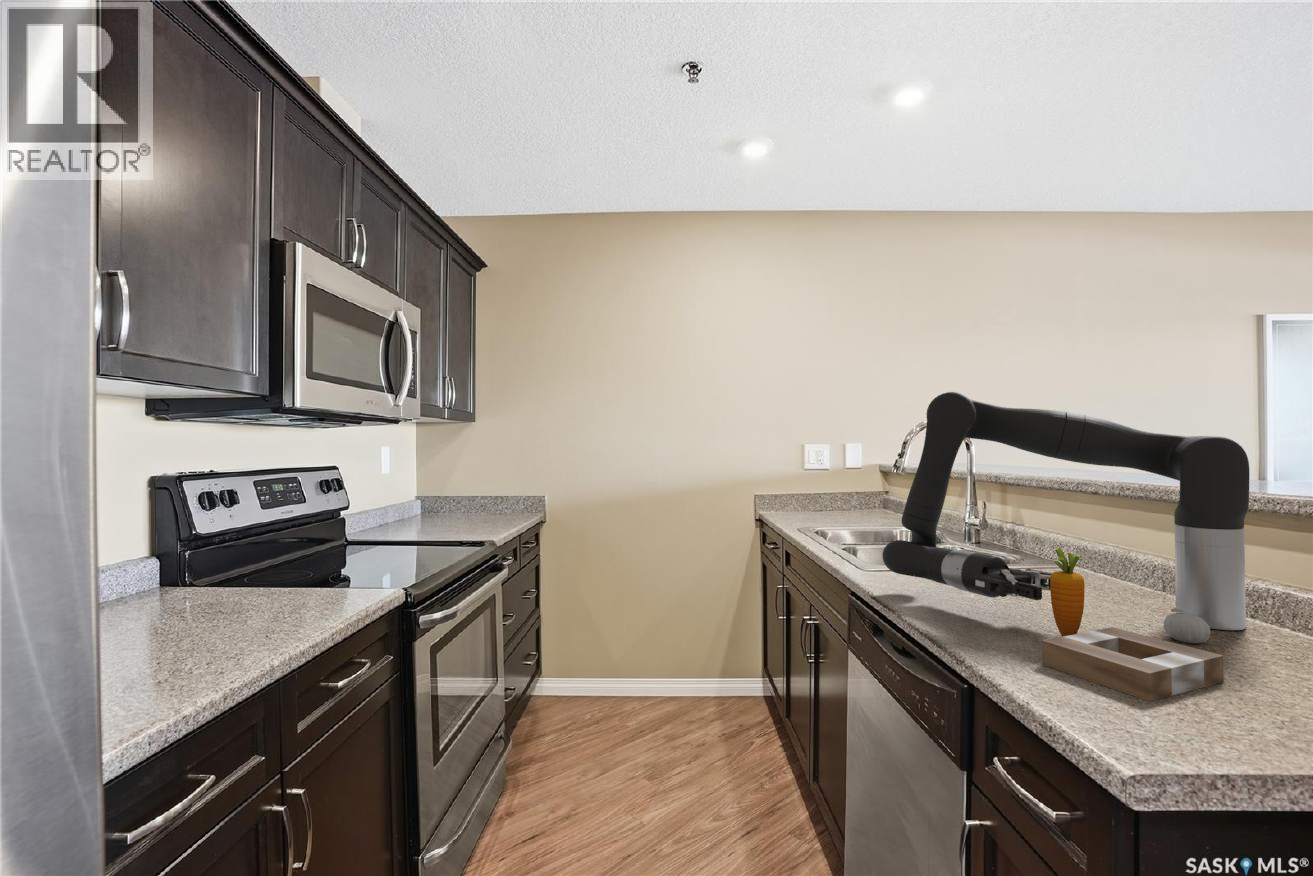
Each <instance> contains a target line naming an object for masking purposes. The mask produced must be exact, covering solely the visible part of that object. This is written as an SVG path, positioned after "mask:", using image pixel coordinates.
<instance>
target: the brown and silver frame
mask: <svg viewBox="0 0 1313 876" xmlns="http://www.w3.org/2000/svg"><path fill="white" fill-rule="evenodd" d="M1041 650H1042V651H1041V657H1042V658H1041V659H1042V660H1041V661H1042V663H1041V664H1042V665H1043V666H1046V667H1049V668H1051V669H1055V670H1058V671H1060V672H1063V673H1066V674H1068V675H1072V676H1074V677H1078V678H1081V679H1084V680H1086V681H1090V682H1092V683H1095V684H1098V685H1101V686H1104V687H1107V688H1110V689H1113V690H1116V691H1119V692H1121V693H1124V694H1127V695H1129V696H1133V697H1136V698H1138V699H1141V700H1145V701H1147V702H1154V701H1156V700H1160V699H1164V698H1168V697H1171V696H1172V697H1173V696H1176V695H1179V694H1183V693H1186V692H1190V691H1193V690H1198V689H1201V688H1205V687H1206V688H1207V687H1209V686H1212V685H1213V686H1214V685H1217V684H1220V683H1224V681H1225V680H1224V679H1225V677H1224V676H1225V674H1224V670H1225V669H1224V655H1223V654H1219V653H1214V652H1210V651H1207V650H1203V649H1199V648H1195V647H1191V646H1188V645H1187V646H1186V645H1183V644H1179V643H1176V642H1175V643H1174V642H1172V641H1168V640H1164V639H1160V638H1155V637H1151V636H1148V635H1145V634H1141V633H1136V632H1133V631H1130V630H1129V631H1128V630H1124V629H1122V628H1118V627H1113V626H1112V627H1107V628H1102V629H1101V628H1100V629H1096V630H1091V631H1085V632H1080V633H1077V634H1074V635H1069V636H1063V637H1062V636H1060V637H1053V638H1047V639H1043V640H1041Z"/></svg>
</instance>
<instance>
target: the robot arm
mask: <svg viewBox="0 0 1313 876" xmlns="http://www.w3.org/2000/svg"><path fill="white" fill-rule="evenodd" d="M964 439H974V440H975V439H976V440H981V441H988V442H989V441H990V442H996V443H999V444H1003V445H1007V446H1008V447H1009V446H1010V447H1012V448H1016V449H1018V450H1022V451H1026V452H1029V453H1033V454H1036V455H1040V456H1044V457H1047V458H1053V459H1057V460H1061V461H1062V460H1063V461H1067V462H1072V463H1073V462H1074V463H1079V464H1087V465H1094V466H1104V467H1105V466H1106V467H1117V468H1129V469H1134V470H1138V471H1144V472H1147V473H1152V474H1155V475H1159V476H1162V477H1166V478H1169V479H1173V480H1176V481H1179V499H1178V504H1177V506H1176V508H1175V510H1174V516H1173V517H1174V563H1175V564H1174V566H1175V568H1174V569H1175V574H1174V575H1175V576H1174V577H1175V608H1180V609H1183V610H1185V611H1186V613H1187V614H1192V615H1195V616H1198V617H1200V618H1202V619H1203V620H1204V621H1205V622H1206V623H1207V624H1208V625H1209V627H1210V629H1213V630H1223V631H1242V630H1245V629H1247V625H1246V624H1247V620H1246V619H1247V609H1246V607H1247V603H1246V560H1245V559H1246V558H1245V557H1246V556H1245V555H1246V553H1245V552H1246V550H1245V547H1246V546H1245V519H1246V516H1247V514H1248V511H1249V506H1250V505H1249V503H1250V502H1249V501H1250V463H1249V457H1248V454H1247V453H1246V451H1245V449H1244V448H1243V446H1242V445H1240V443H1238V442H1236V441H1235V440H1233V439H1230V438H1228V437H1226V436H1220V435H1180V434H1178V435H1177V434H1168V433H1159V432H1151V431H1145V430H1140V429H1136V428H1132V427H1129V426H1127V425H1123V424H1120V423H1117V422H1114V421H1112V420H1107V419H1103V418H1099V417H1095V416H1090V415H1086V414H1079V413H1075V412H1068V411H1063V410H1061V411H1060V410H1055V409H1044V408H1043V409H1041V408H1021V407H1020V408H1015V407H1006V406H1005V407H1004V406H1000V405H999V406H998V405H994V404H990V403H986V402H981V401H978V400H974V399H972V398H971V399H970V398H969V397H967V396H966V395H965V394H962V393H960V392H957V391H947V392H944V393H941V394H938V395H937V396H935V397H934V398H933V399H932V400H931V401H930V403H929V404H928V407H927V409H926V428H925V437H924V441H923V442H924V443H923V448H922V453H921V456H920V460H919V463H918V466H917V469H916V472H915V475H914V478H913V481H912V484H911V486H910V489H909V492H908V496H907V498H906V502H905V506H904V508H903V509H904V510H903V513H902V516H901V526H903V528H905V529H906V530H908V531H911V541H908V540H903V539H896V540H893V541H891V542H889V543H887V544H886V545H885V547H883V551H882V560H883V563H884V565H885V566H886V568H887V569H889V571H890V572H893V573H895V574H898V575H903V576H909V577H914V578H921V579H926V580H930V581H932V582H935V583H939V584H943V585H947V586H951V587H953V588H956V589H958V590H960V591H963V592H964V591H965V592H968V593H971V594H977V595H980V596H983V597H987V598H992V599H993V598H998V597H1001V598H1005V597H1008V596H1011V597H1014V598H1016V597H1022V598H1025V599H1029V600H1034V601H1041V600H1042V598H1043V591H1051V589H1050V578H1051V574H1052V573H1053V572H1050V571H1049V572H1048V571H1043V570H1038V569H1031V568H1025V570H1023V569H1021V568H1017V567H1009V566H1008V564H1007V562H1006V561H1005V560H1004V559H1003V558H1001V557H999V556H997V555H991V554H986V553H981V552H976V551H969V550H957V549H951V548H946V547H939V546H937V527H938V524H939V521H940V517H941V514H942V512H943V511H942V510H943V507H944V503H945V502H946V501H945V500H946V496H947V492H948V487H949V483H950V479H951V478H950V477H951V474H952V470H953V467H954V463H955V460H956V457H957V455H958V452H959V451H960V449H961V448H960V447H962V444H963V441H964ZM1175 613H1182V612H1175Z"/></svg>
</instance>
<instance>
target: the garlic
mask: <svg viewBox="0 0 1313 876" xmlns="http://www.w3.org/2000/svg"><path fill="white" fill-rule="evenodd" d="M1170 612H1172V613H1171V614H1170V613H1169V614H1167V615H1166V617H1165V618H1164V621H1163V629H1164V630H1165V633H1166V634H1167V635H1168V636H1169V637H1171V638H1173V640H1175V641H1178V642H1180V643H1185V644H1202V643H1205V642H1208V640H1209V639H1210V636H1211V628H1210V627H1209V625H1208V624H1207V623H1206V622H1205V621H1204V620H1203V619H1202V618H1200V617H1198V616H1195V615H1192V614H1187V613H1186V611H1185V610H1183V609H1180V608H1176V607H1175V608H1170ZM1176 612H1182V613H1176Z"/></svg>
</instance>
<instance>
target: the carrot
mask: <svg viewBox="0 0 1313 876" xmlns="http://www.w3.org/2000/svg"><path fill="white" fill-rule="evenodd" d="M1054 551H1055V553H1056V554H1057V556H1058V557H1057V560H1054V561H1053V562H1054V563H1055V565H1057V566H1058V568H1060V569H1061V570H1060V571H1059V570H1058V571H1054V572H1051V573H1052V574H1051V578H1050V589H1051V590H1050V601H1051V608H1052V613H1053V618H1054V621H1055V624H1056V627H1057V630H1058V632H1059V634H1060V635H1061V637H1063V636H1069V635H1074V634H1078V631H1079V629H1080V628H1081V623H1082V619H1083V614H1084V609H1085V588H1086V587H1085V579H1084V576H1083V575H1082V574H1080V573H1078V572H1074V569H1075V568H1076V565H1077V564H1078V562H1079V560H1080V558H1081V556H1080V555H1079V554H1076V555H1075V556H1074V553H1071V552H1067V557H1068V560H1067V557H1066V555H1065V553H1064V552H1063V550H1062V548H1056V549H1055V550H1054Z"/></svg>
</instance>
